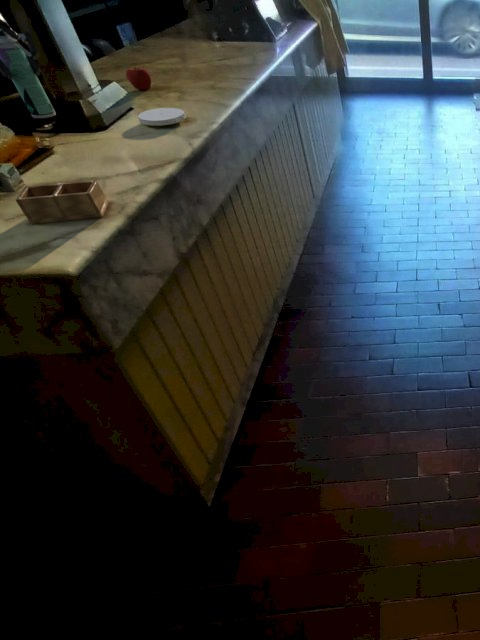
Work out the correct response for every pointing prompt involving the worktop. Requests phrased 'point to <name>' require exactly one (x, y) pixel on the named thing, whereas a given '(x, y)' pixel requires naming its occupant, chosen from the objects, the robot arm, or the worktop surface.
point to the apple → (139, 78)
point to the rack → (62, 201)
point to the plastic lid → (161, 116)
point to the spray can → (24, 77)
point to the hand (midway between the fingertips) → (24, 74)
